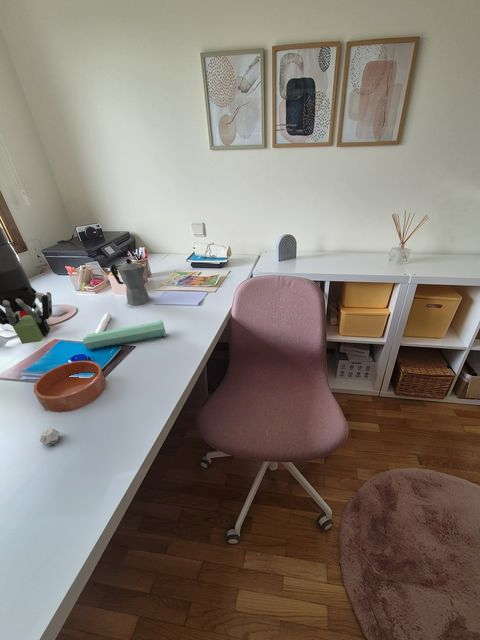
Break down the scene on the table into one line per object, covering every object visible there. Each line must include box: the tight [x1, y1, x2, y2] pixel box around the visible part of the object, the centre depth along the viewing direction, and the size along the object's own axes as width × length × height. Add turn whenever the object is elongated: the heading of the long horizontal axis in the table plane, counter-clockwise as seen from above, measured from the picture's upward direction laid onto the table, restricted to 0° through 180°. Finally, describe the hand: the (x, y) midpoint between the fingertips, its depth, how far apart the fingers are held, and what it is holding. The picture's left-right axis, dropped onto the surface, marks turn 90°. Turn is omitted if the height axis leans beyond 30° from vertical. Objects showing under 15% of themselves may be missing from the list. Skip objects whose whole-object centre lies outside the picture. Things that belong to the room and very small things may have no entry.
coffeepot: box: [109, 258, 150, 306], centre depth 123 cm, size 15×9×18 cm, turn 82°
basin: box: [33, 360, 107, 413], centre depth 79 cm, size 15×15×4 cm
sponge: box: [12, 315, 45, 345], centre depth 72 cm, size 4×6×4 cm, turn 13°
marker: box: [94, 312, 112, 333], centre depth 109 cm, size 18×2×2 cm, turn 11°
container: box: [82, 319, 167, 351], centre depth 99 cm, size 6×6×25 cm
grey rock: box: [39, 427, 60, 446], centre depth 65 cm, size 4×4×3 cm
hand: (35, 335), depth 73 cm, fingers closed on sponge, 4 cm apart
